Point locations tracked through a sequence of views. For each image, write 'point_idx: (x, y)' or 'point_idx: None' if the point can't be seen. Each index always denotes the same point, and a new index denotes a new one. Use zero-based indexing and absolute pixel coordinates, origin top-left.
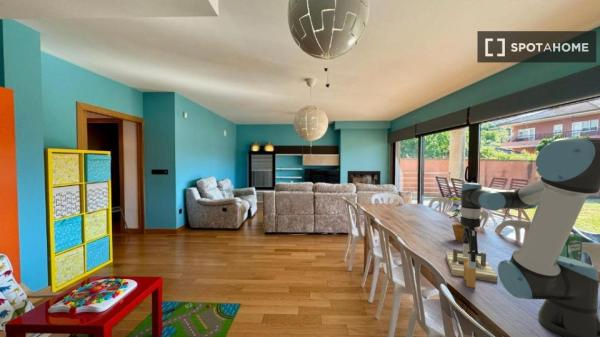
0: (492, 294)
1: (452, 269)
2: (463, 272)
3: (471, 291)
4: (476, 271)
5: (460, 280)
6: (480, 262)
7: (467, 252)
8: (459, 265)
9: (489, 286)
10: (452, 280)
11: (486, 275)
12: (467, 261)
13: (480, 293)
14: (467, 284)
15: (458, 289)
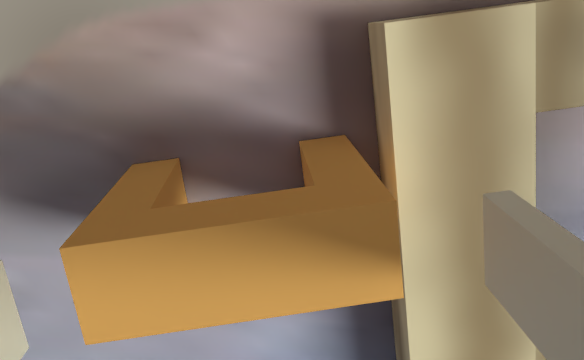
0: (99, 344)
1: (383, 25)
2: (388, 145)
3: (42, 195)
4: (440, 275)
5: (259, 105)
6: None
7: (525, 298)
8: (558, 108)
9: (265, 333)
10: (208, 26)
11: (407, 348)
12: (318, 248)
13: (52, 262)
14: (126, 171)
15: (3, 84)
